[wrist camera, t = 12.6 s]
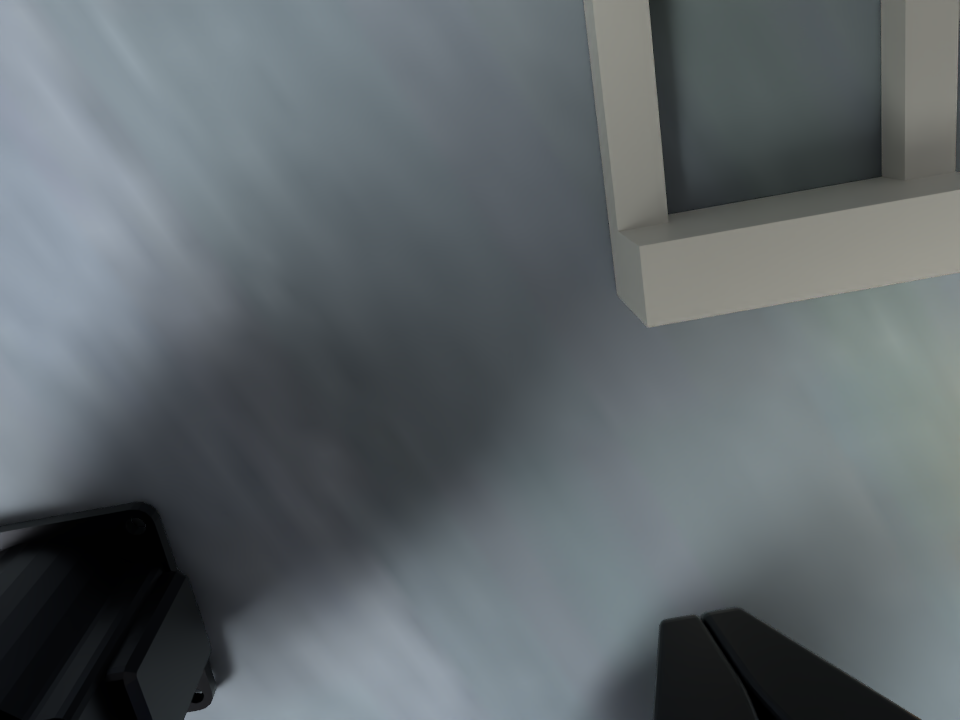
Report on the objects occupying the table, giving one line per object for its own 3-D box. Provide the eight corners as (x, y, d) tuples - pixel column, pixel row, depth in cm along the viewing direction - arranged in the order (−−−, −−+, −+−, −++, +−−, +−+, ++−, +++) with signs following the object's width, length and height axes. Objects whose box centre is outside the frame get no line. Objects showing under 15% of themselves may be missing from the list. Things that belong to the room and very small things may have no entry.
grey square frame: (617, 295, 20) (648, 327, 17) (570, -109, 17) (598, -151, 14) (928, 240, 20) (1011, 263, 17) (935, -174, 17) (1034, -227, 14)
